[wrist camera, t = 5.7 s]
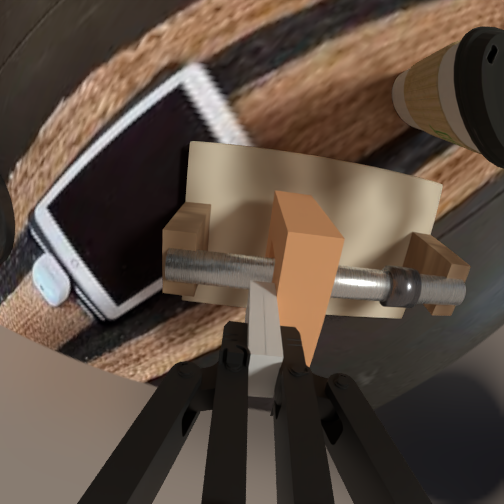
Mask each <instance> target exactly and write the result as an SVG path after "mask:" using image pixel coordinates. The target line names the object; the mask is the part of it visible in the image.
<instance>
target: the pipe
mask: <svg viewBox="0 0 504 504" xmlns="http://www.w3.org/2000/svg"><path fill="white" fill-rule="evenodd" d="M274 266H275V258H268V257H259V256H250V255H241V254H232V253H223V252H214V251H205V250H196V251H192V250H183V249H174V248H169V250H168V252H167V256H166V262H165V277H166V280H169V281H177V282H185V283H193V284H201V285H209V286H218V287H227V288H236V289H245V290H249V287H250V280H252V281H261V282H270V283H272V278H273V272H274ZM465 292H466V288H465V284H464V281H463V280H462V279H452V278H446V277H444V276H435V275H425V274H419V272H418V271H417V270H416V269H415V268H407V267H398V266H390V265H387V266H385V267H384V268H383V269H382V270H378V269H369V268H360V267H350V266H341V265H338V269H337V273H336V277H335V281H334V285H333V288H332V292H331V296H330V298H342V299H355V300H369V301H379V303H380V304H381V305H382V306H383V307H399V308H412V307H414V306H415V305H416V304H417V303H418V304H438V305H459V304H461V303H462V301H463V299H464V297H465Z"/></svg>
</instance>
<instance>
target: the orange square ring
mask: <svg viewBox="0 0 504 504" xmlns="http://www.w3.org/2000/svg"><path fill="white" fill-rule="evenodd" d="M344 240H345V238H344V237H343V236H342V234H341V233H340V232H339V230H338V229H337V228H336V226H335V225H334V224H333V222H332V221H331V220H330V219H329V217H328V216H327V215H326V213H325V212H324V211H323V209H322V208H321V207H320V206H319V204H318V203H317V202H316V201H315V199H314V198H313V197H312V196H311V195H306V194H299V193H291V192H284V191H276V190H275V193H274V200H273V207H272V214H271V221H270V228H269V234H268V241H267V248H266V255H265V257H268V258H275V266H274V272H273V278H272V283H275V288H276V296H277V304H278V312H279V321H280V326H290V327H296V329H297V330H298V331H299V332H300V335H301V341H302V346H303V351H304V356H305V362H306V365H307V366H308V367H310V363H311V360H312V357H313V354H314V351H315V348H316V344H317V341H318V338H319V335H320V331H321V328H322V324H323V321H324V317H325V314H326V310H327V307H328V303H329V300H330V296H331V292H332V288H333V285H334V281H335V277H336V273H337V269H338V265H339V261H340V257H341V253H342V249H343V244H344Z"/></svg>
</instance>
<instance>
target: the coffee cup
mask: <svg viewBox="0 0 504 504" xmlns="http://www.w3.org/2000/svg"><path fill="white" fill-rule="evenodd" d="M392 101H393V104H394V108H395V110H396V112H397V113H398V115H399V116H400V118H401V119H402V120H403V121H404V122H405V123H407V124H408V125H410V126H412V127H414V128H417V129H420V130H423V131H425V132H427V133H429V134H431V135H433V136H436V137H439V138H441V139H444V140H446V141H449V142H452V143H454V144H456V145H459V146H461V147H464V148H466V149H468V150H471V151H473V152H476V153H479V154H482V155H483V156H484V157H485V158H486V159H487V160H488V161H489V162H491V163H493V164H494V165H496V166H497V167H500V168H504V30H502V29H499V28H496V27H478V28H474V29H472V30H470V31H469V32H468V33H466V34H465V36H464V37H463V38H462V40H460V41H457V42H454V43H452V44H450V45H448V46H446V47H444V48H443V49H441V50H439V51H437V52H435V53H433V54H432V55H430V56H428V57H426V58H424V59H423V60H421V61H419V62H417V63H416V64H415V65H413V66H412V67H411V68H410V69H408V70H406V71H405V72H403V73H401V74H400V75H399V76H398V77H397V78H396V80H395V82H394V84H393V88H392Z"/></svg>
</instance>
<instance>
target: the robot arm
mask: <svg viewBox="0 0 504 504" xmlns="http://www.w3.org/2000/svg"><path fill="white" fill-rule="evenodd" d="M14 235H15V220H14V212H13V206H12V202H11V198H10V195H9V192H8V189H7V187H6V185H5V183H4V181H3V179H2V177H1V175H0V264H1V263H2V262H4V261H5V260H6V259H7V257H8V256H9V254H10V252H11V250H12V246H13V242H14ZM274 392H275V400H274V404H273V407H272V411H271V415H270V416H274V436H275V437H274V438H275V461H276V485H277V504H334V496H333V490H332V484H331V478H330V471H329V465H328V459H327V454H326V447H327V449H328V451H329V453H330V455H331V458H332V460H333V461H334V463H335V466H336V468H337V470H338V472H339V474H340V476H341V478H342V480H343V482H344V484H345V486H346V489H347V491H348V493H349V495H350V497H351V499H352V501H353V503H354V504H432V503H431V501H430V499H429V498H428V496H427V495H426V493H425V491H424V490H423V488H422V486H421V485H420V483H419V482H418V480H417V479H416V477H415V475H414V474H413V472H412V470H411V469H410V467H409V466H408V464H407V462H406V461H405V459H404V458H403V456H402V455H401V453H400V451H399V450H398V448H397V447H396V445H395V443H394V442H393V440H392V439H391V437H390V436H389V434H388V432H387V431H386V429H385V428H384V426H383V425H382V423H381V421H380V420H379V419H378V417H377V416H376V414H375V412H374V411H373V409H372V407H371V406H370V404H369V403H368V401H367V400H366V398H365V397H364V395H363V394H362V392H361V390H360V389H359V387H358V386H357V384H356V383H355V381H354V380H353V379H352V378H351V377H350V376H348V375H346V374H342V373H336V374H333V375H331V376H330V377H329V378H328V379H327V378H324V377H320V376H317V375H315V374H313V373H312V371H311V369H310V368H309V367H308V366H307V365H306V362H305V356H304V351H303V346H302V341H301V335H300V332H299V331H298V330H297V329H296V327H290V326H280V321H279V312H278V304H277V296H276V288H275V283H270V282H261V281H252V280H250V287H249V294H248V301H247V308H246V316H245V323H242V322H233V321H229V322H228V323H227V324H226V325H225V326H224V331H223V339H222V346H221V349H220V352H219V361H218V362H217V363H216V364H215V365H214V366H211V367H207V368H200V367H199V366H198V365H196V364H194V363H192V362H187V361H185V362H179V363H177V364H175V365H174V366H173V367H172V368H171V369H170V371H169V372H168V374H167V375H166V377H165V378H164V379H163V381H162V382H161V384H160V385H159V387H158V388H157V389H156V391H155V393H154V394H153V395H152V397H151V398H150V400H149V401H148V402H147V404H146V405H145V407H144V408H143V410H142V411H141V413H140V414H139V415H138V417H137V418H136V420H135V421H134V423H133V424H132V426H131V427H130V429H129V430H128V431H127V433H126V434H125V436H124V437H123V438H122V440H121V441H120V443H119V444H118V446H117V447H116V449H115V450H114V451H113V453H112V455H111V456H110V457H109V459H108V460H107V461H106V463H105V465H104V466H103V467H102V469H101V470H100V472H99V473H98V474H97V476H96V477H95V479H94V480H93V482H92V483H91V485H90V486H89V487H88V489H87V490H86V492H85V493H84V495H83V496H82V498H81V499H80V501H79V502H78V503H77V504H152V502H153V501H154V499H155V497H156V495H157V493H158V491H159V490H160V488H161V486H162V484H163V482H164V480H165V479H166V477H167V475H168V473H169V471H170V469H171V467H172V465H173V464H174V462H175V460H176V458H177V456H178V454H179V452H180V450H181V448H182V446H183V445H184V443H185V441H186V439H187V437H188V435H189V433H190V431H191V429H192V427H193V425H194V423H195V421H196V419H197V418H198V415H199V414H200V411H206V410H212V418H211V427H210V435H209V442H208V450H207V459H206V467H205V476H204V485H203V493H202V503H201V504H246V460H247V415H248V396H255V397H269V398H273V395H274ZM325 445H326V447H325Z"/></svg>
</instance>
